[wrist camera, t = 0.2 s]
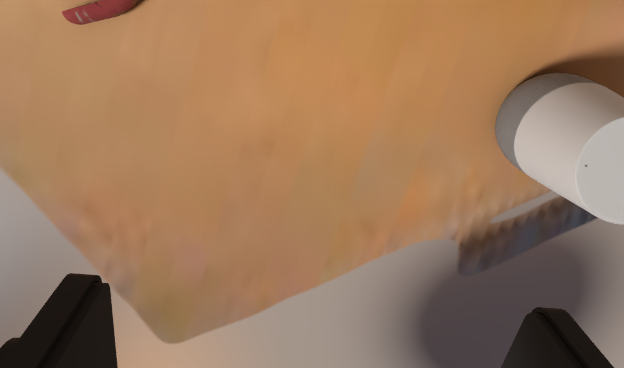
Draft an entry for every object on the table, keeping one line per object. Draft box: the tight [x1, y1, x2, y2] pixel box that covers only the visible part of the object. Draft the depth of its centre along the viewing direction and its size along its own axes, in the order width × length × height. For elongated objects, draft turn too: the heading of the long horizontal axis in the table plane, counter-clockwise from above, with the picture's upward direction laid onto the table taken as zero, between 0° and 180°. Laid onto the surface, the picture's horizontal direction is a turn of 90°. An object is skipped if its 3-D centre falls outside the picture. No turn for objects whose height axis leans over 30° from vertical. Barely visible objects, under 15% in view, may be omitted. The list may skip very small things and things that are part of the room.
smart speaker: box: [495, 73, 624, 224], centre depth 34 cm, size 10×9×14 cm
